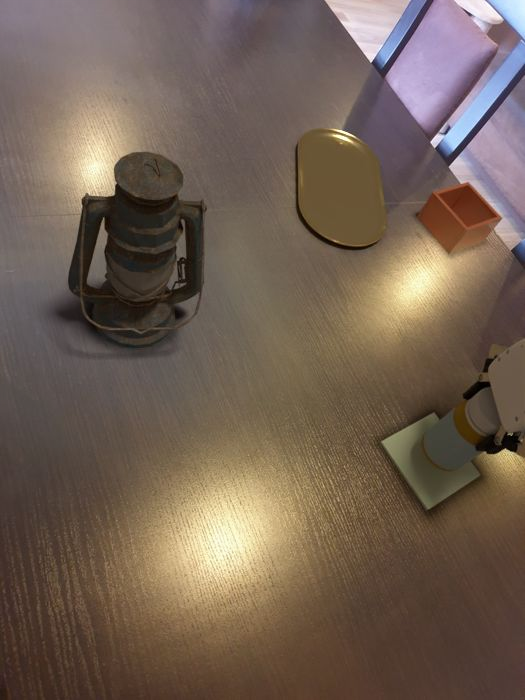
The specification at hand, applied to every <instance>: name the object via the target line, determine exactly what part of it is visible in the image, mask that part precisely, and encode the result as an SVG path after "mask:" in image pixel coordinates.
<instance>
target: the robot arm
mask: <svg viewBox="0 0 525 700" xmlns="http://www.w3.org/2000/svg"><path fill="white" fill-rule="evenodd" d="M487 387H491V388H492V392H493V396H494V399H495V403H496V406H497V410H498V413H499V417H500V420H501V423H502V424H501V426H500V428H499V430H498V432H497V434H496V435H489V436H488V437H487V438H485V439H484V440H482V441H481V442H479V443H478V444H477V445H476V446H475V449H476V451H483V453H484V452H485V453H486V455H497V454H499V453H501V452H502V451H504V450H507V451H509V452H510V453H514V454H516V455H517V456H519V457H520V458H523V459H525V337H524V338H522V339H521V340H519V341H517V342H515V343H514V344H513V345H511V346H510V347H508V346H507V345H504V344H502V343H496V342H495V343H494V342H493V343H492V344H491V346H490V350H489V352H488V358H486V359H485V361H484V366H483V369H482V372H480V373H478V375H477V380H476V382H475V383H474V384H472V385H471V386H470V387H469V388H468V389H467V390H466V391H465V392H463V393H462V398H463V399H464V401H465V400H469V399H471V398H472V397H473V396H474V395H476V394H477V393H478V392H479V391H481V390H482V389H484V388H487Z"/></svg>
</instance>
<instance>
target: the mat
mask: <svg viewBox="0 0 525 700" xmlns="http://www.w3.org/2000/svg"><path fill="white" fill-rule="evenodd" d="M440 420H441V419H440V418H439V417H438V415H437V414H436V413H435V412H431V413H430V414H428V415H426V416H425V417H423V418H421V419H419V420H418V421H416V422H413V423H412V424H410V425H408V426H406V427H405V428H402V429H400V430H399V431H397V432H395V433H394V434H392V435H390V436H388V437H386V438H385V439H383V440H381V441H380V442H379V444H380V445H381V447H382V448H383V450H384V451H385V453H386V454H387V456H388V457H389V459H390V460H391V461H392V463H393V464H394V466H395V467H396V468H397V470H398V471H399V473H400V475H401V476H402V477H403V479H404V480H405V482H406V483H407V485H408V486H409V488H410V489H411V491H412V492H413V493H414V495H415V496H416V498H417V499H418V501H419V502H420V504H421V505H422V506H423V508H424V509H425V511H427V512H428V511H429V510H430V509H432V508H433V507H435V506H436V505H438V504H440V503H441V502H442V501H444V500H446V499H447V498H449V497H450V496H452V495H453V494H455V493H457V491H459V490H460V489H462V488H464V487H465V486H467V485H468V484H470V483H471V482H473V481H474V480H476V479H477V478H479V477H481V473H480V471H479V470H478V469H477V468H476V466H475V465H474V464H473V462H472V460H471V461H469V462H468V463H466V464H465V465H463V466H462V467H460V468H458V469H456V470H453V471H444V470H441V469H438V468H437V467H435V466H434V465H433V464H431V463H430V461H429V460H428V459H427V458H426V456H425V454H424V452H423V448H422V438H423V436H424V434H425V433H426V432H427V431H428V430H429V429H430V428H431V427H432V426H434V425H435V424H436V423H437V422H438V421H440Z"/></svg>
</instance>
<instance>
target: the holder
mask: <svg viewBox="0 0 525 700" xmlns="http://www.w3.org/2000/svg"><path fill="white" fill-rule="evenodd" d="M416 218H417V219H418V220H419V222H420V223H421V224H422V225H423V226H424V227H425V229H427V230H428V232H429V233H430V234H431V235H432V237H433V238H434V239H435V240H436V241H437V242H438V244H439V245H440V246H441V247H442V248H443V249H444V251H445V252H446V253H447V254H448V255H451V254H454V253H457V252H459V251H461V250H464V249H467V248H470V247H474V246H475V245H478V244H480V243H483V242H484V241H485V240H486V239H487V238H488V237H489V235H490V234H491V233H492V232H493V231H494V230H495V229H496V227H497V226H498V225H499V224H500V222H501V221H502V220H503V217H502V216H501V215H500V214H499V212H498V211H496V210H495V209H494V207H493V206H492V205H491V204H490V203H489V202H488V201H487V200H486V199H485V198H484V197H483V195H482V194H480V193H479V192H478V190H477V189H476V188H475V187H474V186H473V185H472V184H471V183H470V181H466V182H463V183H460V184H456V185H453V186H449V187H445V188H443V189H439V190H436V191H432V192H431V194H430V195H429V197H428V199H427V200H426V202H425V203H424V205H423V206H422V208H421V209H420V212H418V214H417V215H416Z"/></svg>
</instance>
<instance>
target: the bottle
mask: <svg viewBox="0 0 525 700" xmlns="http://www.w3.org/2000/svg"><path fill="white" fill-rule="evenodd" d="M439 420H440V421H438V422H437V423H436V424H435V425H434V426H432V427H431V428H430V429H429V430H428V431H427V432H426V433H425V434H424V436H423V438H422V448H423V452H424V454H425V456H426V458H427V459H428V460H429V461H430V463H431V464H433V465H434V466H435V467H437V468H438V469H441V470H444V471H453V470H456V469H458V468H460V467H462V466H463V465H465V464H466V463H468V462H469V461H471V462H472V460H474V459H475V458H477V457H478V456H480V455H481V454H483V453H484V452H483V451H476V449H475V446H476V445H477V444H478V443H479V442H481V441H482V440H484V439H485V438H487V437H488V436H489V435H496V434H497V432H498V430H499V428H500V426H501V424H502V423H501V420H500V417H499V413H498V410H497V406H496V403H495V399H494V396H493V392H492V388H491V387H487V388H484V389H482V390H481V391H479V392H478V393H477V394H476V395H474V396H473V397H472V398H471V399H469V400H465V399H464V400H463V401H461V402H460V403H458V404H457V405H456V406H455V407H454V408H452V410H450V411H449V412H448V413H446V414H445V415H444V416H443V417H442V418H440V419H439Z"/></svg>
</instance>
